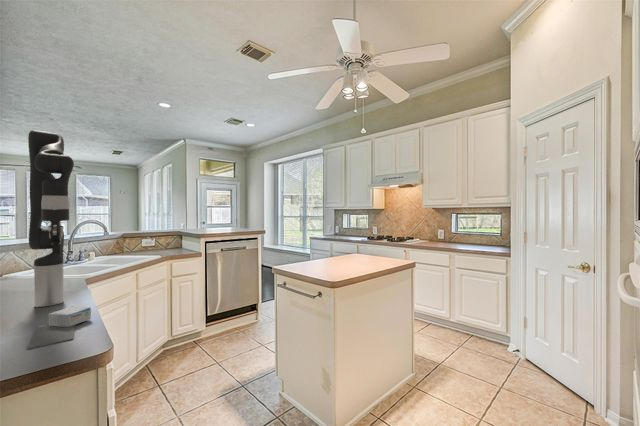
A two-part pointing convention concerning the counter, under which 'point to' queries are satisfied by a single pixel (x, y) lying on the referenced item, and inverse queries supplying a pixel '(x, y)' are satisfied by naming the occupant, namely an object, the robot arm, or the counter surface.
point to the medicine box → (69, 316)
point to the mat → (50, 336)
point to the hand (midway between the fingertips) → (56, 254)
